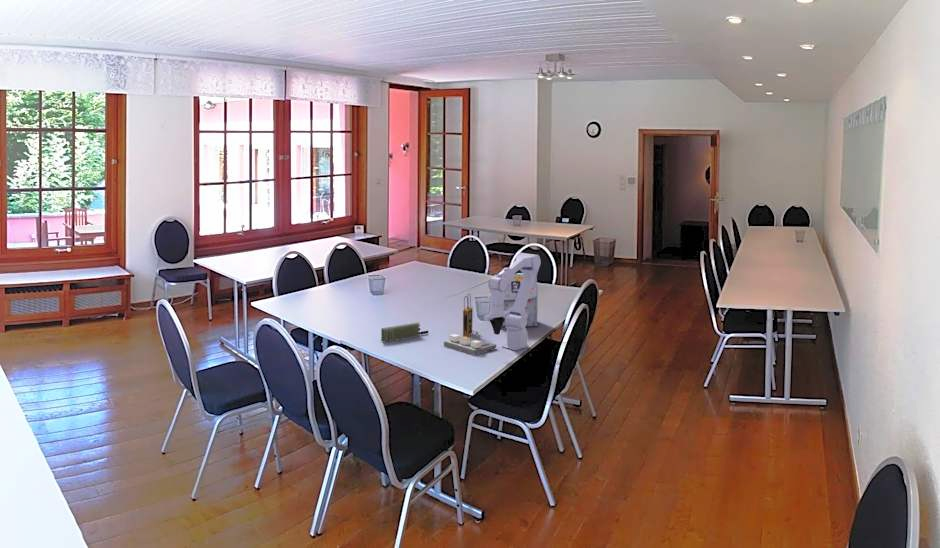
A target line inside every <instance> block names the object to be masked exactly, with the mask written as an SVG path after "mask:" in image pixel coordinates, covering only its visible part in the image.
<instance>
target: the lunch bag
mask: <svg viewBox="0 0 940 548" xmlns="http://www.w3.org/2000/svg"><path fill="white" fill-rule="evenodd" d="M497 275H498V274H494V277H496V276H497ZM523 276H524V274H523V273H522V272H518V273H517V272H516V273H514V278H513V279H512V280H511V281H509V282H508V285H507V287H506V289H505V290H504V311H507V310H508V309H509V308H511V307H513V306H514V303H515V300H516V297H517V294H518V291H519V288H520V285H521V282H522V279H523ZM538 288H539V287H538V273H537V274H536V276H535V279H534V282H533V285H532V288H531V291H530V294H529V297H528V300H527V303H526V306H525V309H524V310H525V311H526V313H527V314H528V317H527V325H526V327H538V311H539V310H538V309H539V308H538V307H539V306H538V301H539V299H538V298H539V297H538V296H539V290H538ZM503 318H504V317H503ZM502 327H506V326H505V325H504V323H503V324H502Z"/></svg>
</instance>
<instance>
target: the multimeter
mask: <svg viewBox="0 0 940 548" xmlns="http://www.w3.org/2000/svg"><path fill="white" fill-rule="evenodd" d="M469 298H470V300H469ZM465 299H467V300H466V301H467V304H465V303H466V302H465ZM471 299H472V295H471V294H470V293H467V296H466V295H465V296H464V298H463V310H462V337H464V336H468V337H470V336H471V333H472V334H473V309H474V307H472V305H471V304H472V303H471V302H472V300H471ZM465 305H466V308H465ZM475 335H477V336H474V337H472V338H475V339H478V337H480V336H481V337H482V338H484V337H483V335H480V334H478V331H476V332H475ZM478 335H479V336H478Z"/></svg>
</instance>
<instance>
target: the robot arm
mask: <svg viewBox="0 0 940 548" xmlns="http://www.w3.org/2000/svg"><path fill="white" fill-rule="evenodd" d="M541 261H542V260H541V258H540V255H539V254H532V253H525V252H519V253H518V254H517V255H516V257H515V260H514V262H513V263H512V264H511V265H510V266H509V267H504V268H503V269H502V270H501V271H500V272H499V273H497V274H496V275H497V276H496V277H495V276H491V278H490V279H488V280H489V281H488V284H487V286H488V289H489V293H490V312H489V313H488V314H486V315H483V321H486V322H489V323H490V324H491V327H492V330H493V334H494V335H496V336H497V335H500V333H501V330H502V327H503V326H502V324H503V323H504V325H505V326H504V327H505V329H506V345H505V344H504V345H503V346H502V347H503V348H505V349H508V348H509V350H511V351H518V350H522V349H525V348H528V347H529V346H530V345H528V330H527V329H526V327H527V326H526V325H527V317H528V314H527V313H526V311H525V310H524V309H525V306H526V303H527V300H528V297H529V294H530V291H531V288H532V285H533V282H534V279H535V276H536V274H537V275H538V272H539V269H540V267H541V265H542V264H541V263H542V262H541ZM518 271H520V273H523V274H524V276H523V279H522V282H521V285H520V288H519V291H518V294H517V297H516V300H515V303H514V306H513V307H511V308H509V309H508V310H507V311H504V290H505V289H506V287H507V285H508V282H509V281H511V280H512V279H513V278H514V274H517V272H518ZM503 317H504V318H503Z"/></svg>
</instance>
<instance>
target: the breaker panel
mask: <svg viewBox="0 0 940 548" xmlns="http://www.w3.org/2000/svg"><path fill="white" fill-rule="evenodd" d="M462 337H468V338H470V344H468V345H463V344H460V341H457V342H453V341H450V339H449V340H445V341H443V346H444V347H446V346H448V347H447V348H449V347H451V348H450V349H453V348H454V350H456V349H457V350H456V351H459V350H461V351H460V352H462V351H464V352H463V353H466V352H467V353H466V354H469V353H471V354H470V355H472V354H477V355H479V354H478V353H480V354H482V353H481V352H484V353H486V352H485V351H487V352H490V351H489V350H491V351H493V350H492V349H494V350H496V349H497V344H496V343H495V344H494V343H491V342H488V341H485V340H481V339H478V338H473V337H470V336H461V337H460V338H462ZM474 340H477V341H480V342H481V347H480V348H473V347H471V341H474ZM495 348H496V349H495Z"/></svg>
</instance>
